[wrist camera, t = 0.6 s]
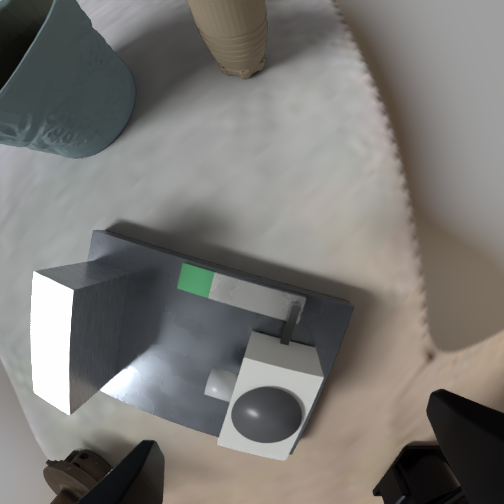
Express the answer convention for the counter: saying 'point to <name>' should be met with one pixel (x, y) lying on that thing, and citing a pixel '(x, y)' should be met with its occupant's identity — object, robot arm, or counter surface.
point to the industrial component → (75, 476)
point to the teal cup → (59, 80)
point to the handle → (233, 33)
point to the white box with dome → (268, 393)
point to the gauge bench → (163, 329)
